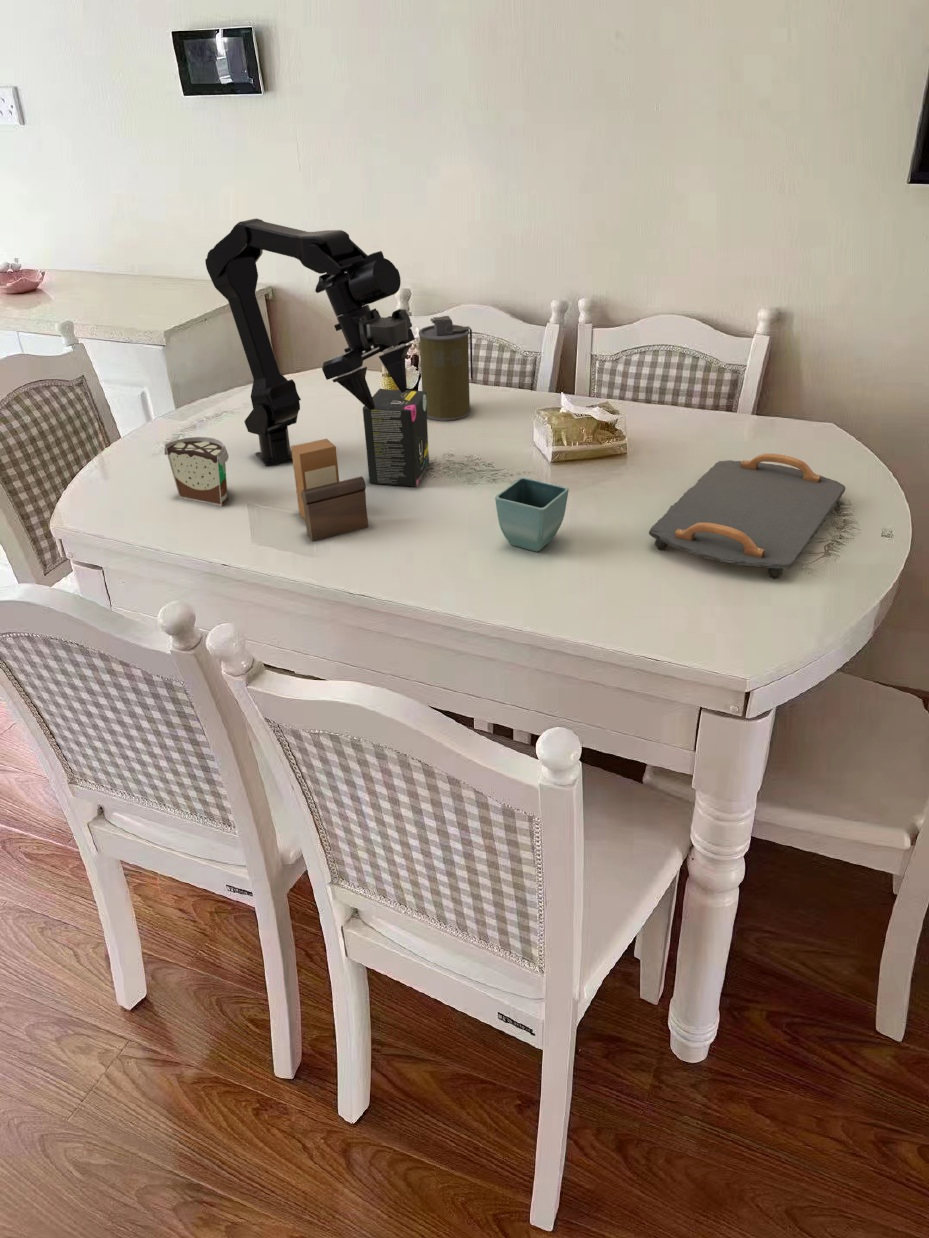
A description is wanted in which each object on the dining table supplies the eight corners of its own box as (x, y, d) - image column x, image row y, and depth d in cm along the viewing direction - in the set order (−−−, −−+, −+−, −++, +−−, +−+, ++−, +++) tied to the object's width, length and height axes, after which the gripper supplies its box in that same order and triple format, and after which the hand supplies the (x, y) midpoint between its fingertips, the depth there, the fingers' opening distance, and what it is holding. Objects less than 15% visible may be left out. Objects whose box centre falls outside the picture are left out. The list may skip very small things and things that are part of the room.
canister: (426, 423, 202) (422, 327, 191) (418, 406, 210) (414, 313, 200) (477, 418, 203) (475, 322, 193) (467, 402, 212) (465, 309, 201)
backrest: (306, 536, 159) (300, 488, 155) (363, 521, 163) (359, 474, 159) (311, 541, 158) (305, 493, 153) (369, 526, 162) (365, 479, 157)
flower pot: (542, 561, 150) (543, 509, 145) (493, 548, 154) (493, 496, 149) (568, 538, 156) (570, 487, 152) (520, 526, 160) (521, 476, 156)
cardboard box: (299, 514, 166) (290, 446, 160) (333, 505, 169) (326, 438, 162) (308, 523, 163) (299, 454, 157) (343, 514, 166) (336, 446, 159)
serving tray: (783, 592, 140) (789, 554, 137) (635, 554, 151) (638, 519, 148) (849, 494, 168) (856, 460, 165) (721, 468, 179) (725, 436, 175)
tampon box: (417, 488, 174) (412, 410, 166) (367, 484, 176) (361, 407, 168) (431, 464, 183) (427, 389, 176) (384, 461, 185) (378, 387, 177)
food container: (249, 493, 174) (241, 441, 169) (228, 507, 169) (219, 454, 164) (194, 483, 178) (184, 432, 173) (172, 496, 174) (162, 444, 168)
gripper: (351, 313, 147) (390, 409, 153) (420, 282, 160) (454, 372, 166) (303, 331, 155) (342, 423, 160) (373, 301, 167) (407, 387, 173)
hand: (388, 400), depth 164 cm, fingers open, 9 cm apart
